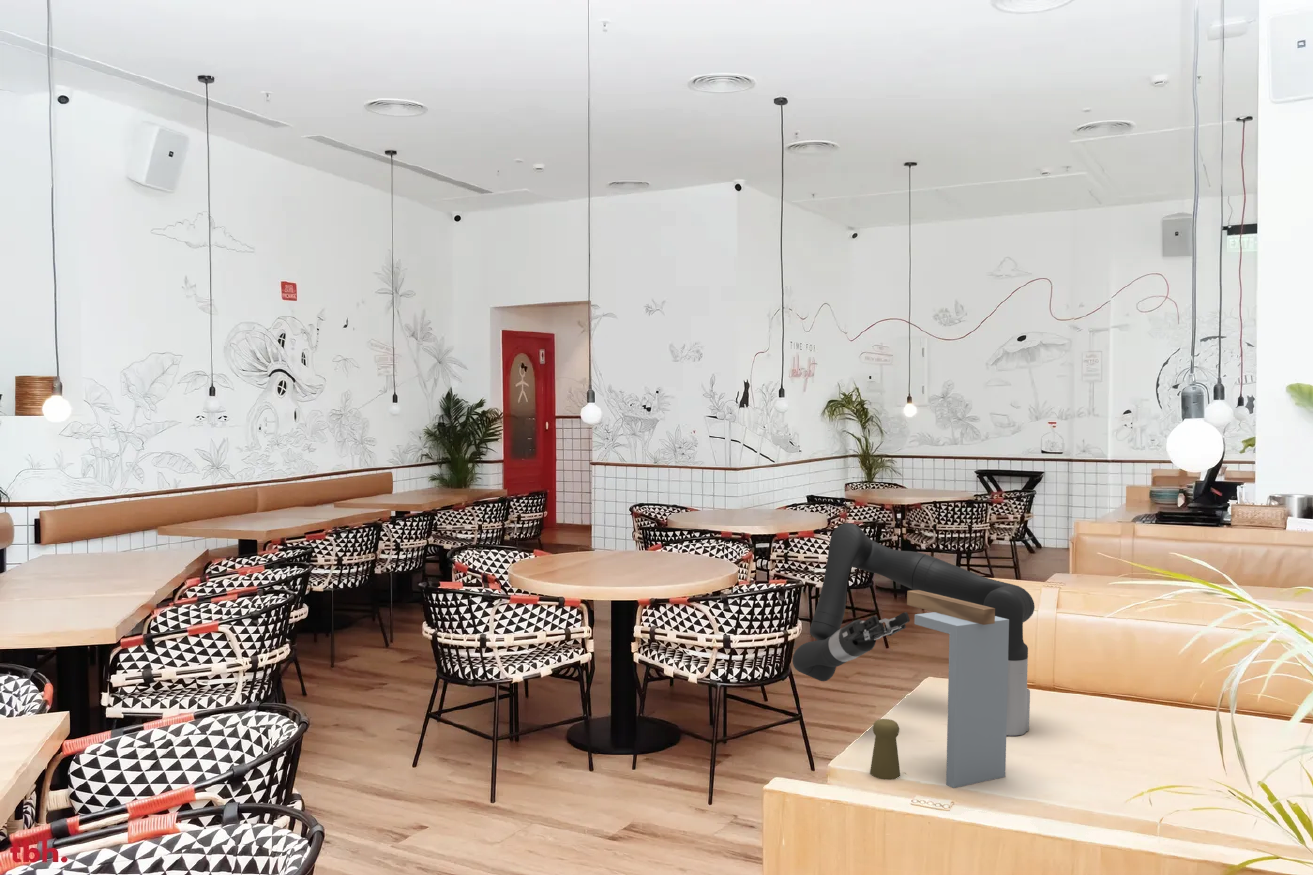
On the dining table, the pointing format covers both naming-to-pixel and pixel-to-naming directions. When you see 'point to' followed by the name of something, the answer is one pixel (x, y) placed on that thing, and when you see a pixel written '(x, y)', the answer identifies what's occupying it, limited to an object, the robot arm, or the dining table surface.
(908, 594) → the walnut rod
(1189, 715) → the dining table surface
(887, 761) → the olive pawn
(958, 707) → the shelf stand
